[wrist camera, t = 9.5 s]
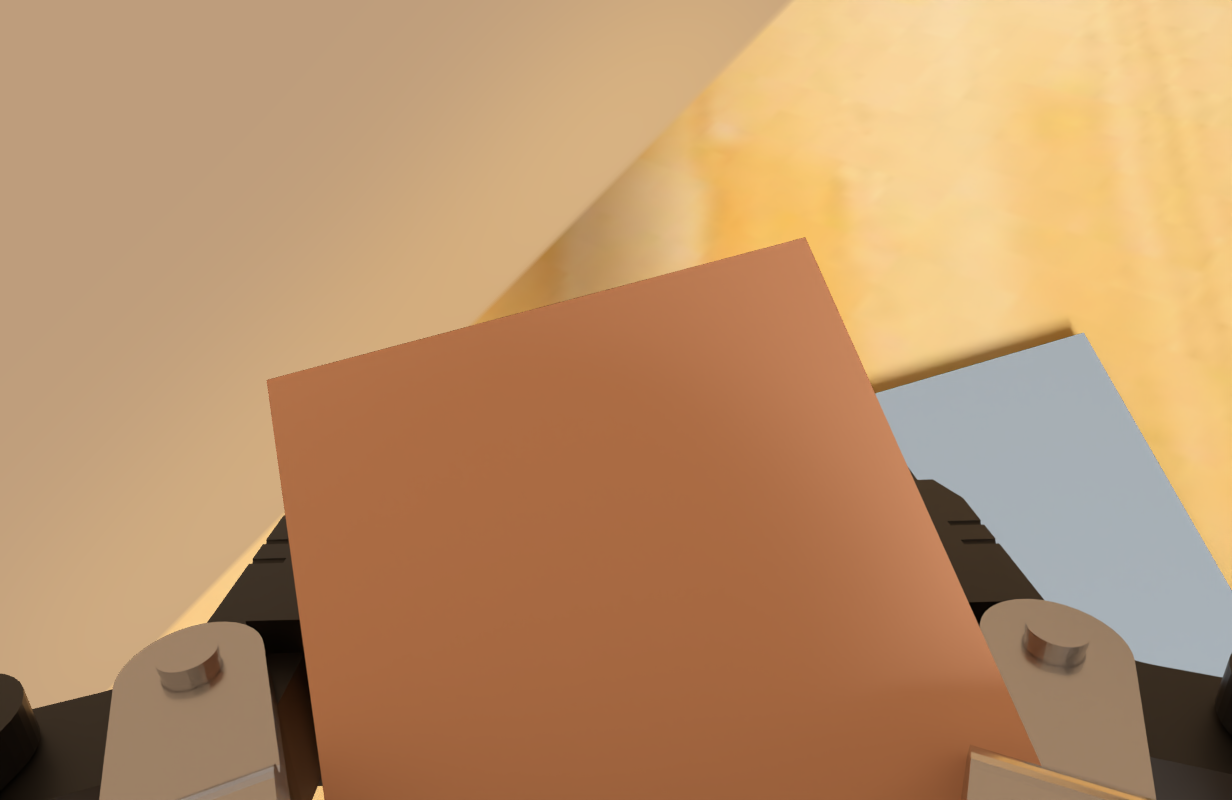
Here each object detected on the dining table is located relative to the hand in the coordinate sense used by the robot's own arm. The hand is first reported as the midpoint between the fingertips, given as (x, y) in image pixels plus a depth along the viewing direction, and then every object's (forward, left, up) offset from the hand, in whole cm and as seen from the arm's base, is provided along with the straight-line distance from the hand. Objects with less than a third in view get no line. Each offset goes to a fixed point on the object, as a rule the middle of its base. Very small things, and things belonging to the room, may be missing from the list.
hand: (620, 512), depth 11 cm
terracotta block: (0, +2, -4) cm, 4 cm away
